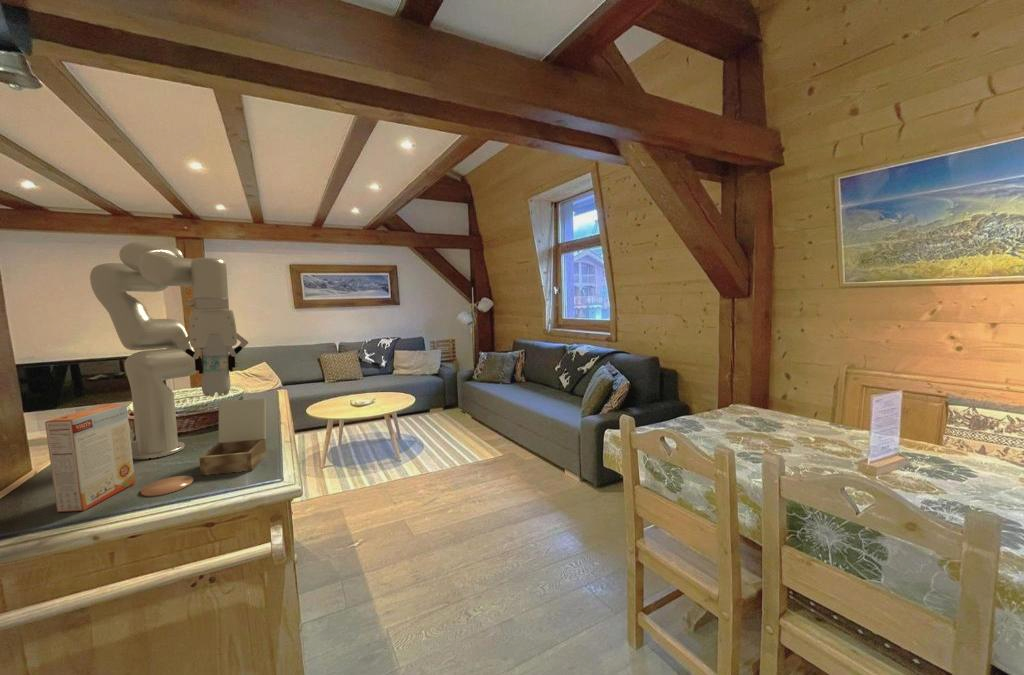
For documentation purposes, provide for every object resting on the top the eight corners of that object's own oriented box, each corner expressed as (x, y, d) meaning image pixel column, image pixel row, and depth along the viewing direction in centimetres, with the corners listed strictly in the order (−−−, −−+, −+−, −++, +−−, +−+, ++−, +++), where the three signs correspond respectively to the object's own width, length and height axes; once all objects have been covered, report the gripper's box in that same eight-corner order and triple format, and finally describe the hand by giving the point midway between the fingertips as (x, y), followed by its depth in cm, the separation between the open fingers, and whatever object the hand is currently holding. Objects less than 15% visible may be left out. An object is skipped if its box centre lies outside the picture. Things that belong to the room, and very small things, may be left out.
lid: (219, 459, 118) (215, 403, 117) (225, 455, 122) (221, 400, 120) (265, 455, 121) (262, 400, 120) (269, 450, 125) (266, 397, 124)
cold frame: (200, 476, 107) (199, 457, 107) (220, 459, 119) (219, 442, 118) (252, 470, 110) (250, 453, 110) (266, 454, 122) (265, 438, 121)
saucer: (130, 498, 95) (130, 496, 95) (155, 480, 104) (155, 478, 104) (181, 493, 97) (180, 490, 97) (200, 476, 107) (200, 473, 107)
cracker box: (111, 484, 102) (103, 403, 100) (136, 483, 103) (129, 403, 101) (53, 513, 88) (43, 420, 87) (83, 512, 89) (73, 419, 87)
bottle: (224, 397, 107) (221, 321, 106) (195, 397, 106) (193, 321, 104) (236, 392, 114) (234, 321, 112) (209, 392, 112) (207, 320, 111)
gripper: (168, 305, 100) (174, 377, 101) (251, 305, 110) (255, 370, 112) (170, 305, 106) (175, 373, 107) (248, 304, 116) (252, 366, 118)
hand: (216, 371), depth 109 cm, fingers closed on bottle, 6 cm apart
